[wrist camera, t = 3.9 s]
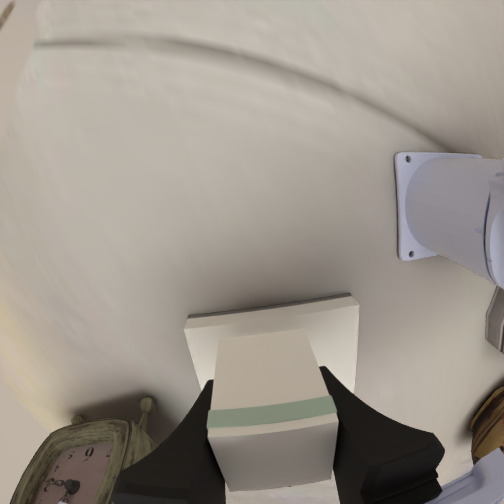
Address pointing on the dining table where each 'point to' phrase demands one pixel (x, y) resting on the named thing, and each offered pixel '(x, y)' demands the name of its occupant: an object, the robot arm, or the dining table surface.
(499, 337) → the grey angular piece
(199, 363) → the power strip
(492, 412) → the ceramic jug
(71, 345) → the dining table surface
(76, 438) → the tabletop clock
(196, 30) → the dining table surface
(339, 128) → the dining table surface
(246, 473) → the block
